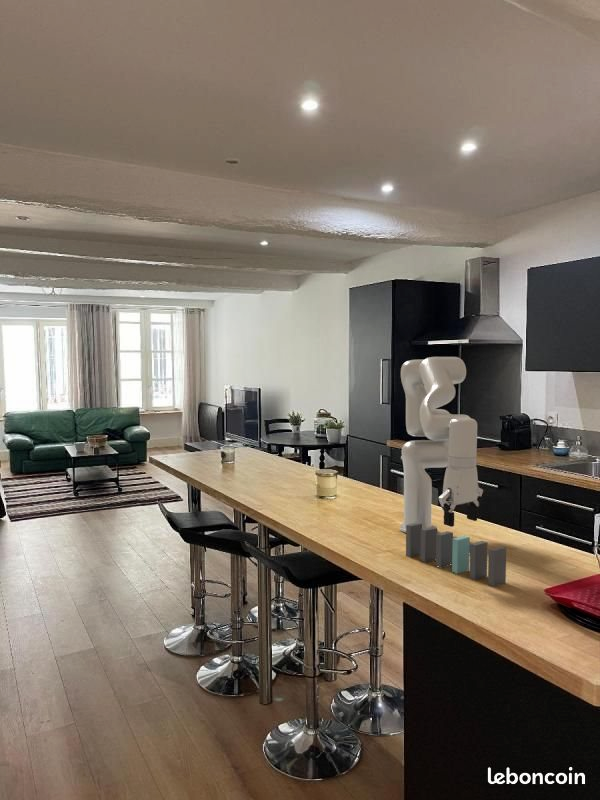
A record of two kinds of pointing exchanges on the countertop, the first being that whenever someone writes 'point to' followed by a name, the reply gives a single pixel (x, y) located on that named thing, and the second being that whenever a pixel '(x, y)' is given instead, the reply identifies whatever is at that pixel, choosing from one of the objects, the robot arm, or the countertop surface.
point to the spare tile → (460, 554)
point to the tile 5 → (478, 560)
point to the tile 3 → (444, 548)
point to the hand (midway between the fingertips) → (460, 522)
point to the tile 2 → (428, 544)
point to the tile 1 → (413, 539)
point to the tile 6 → (497, 566)
